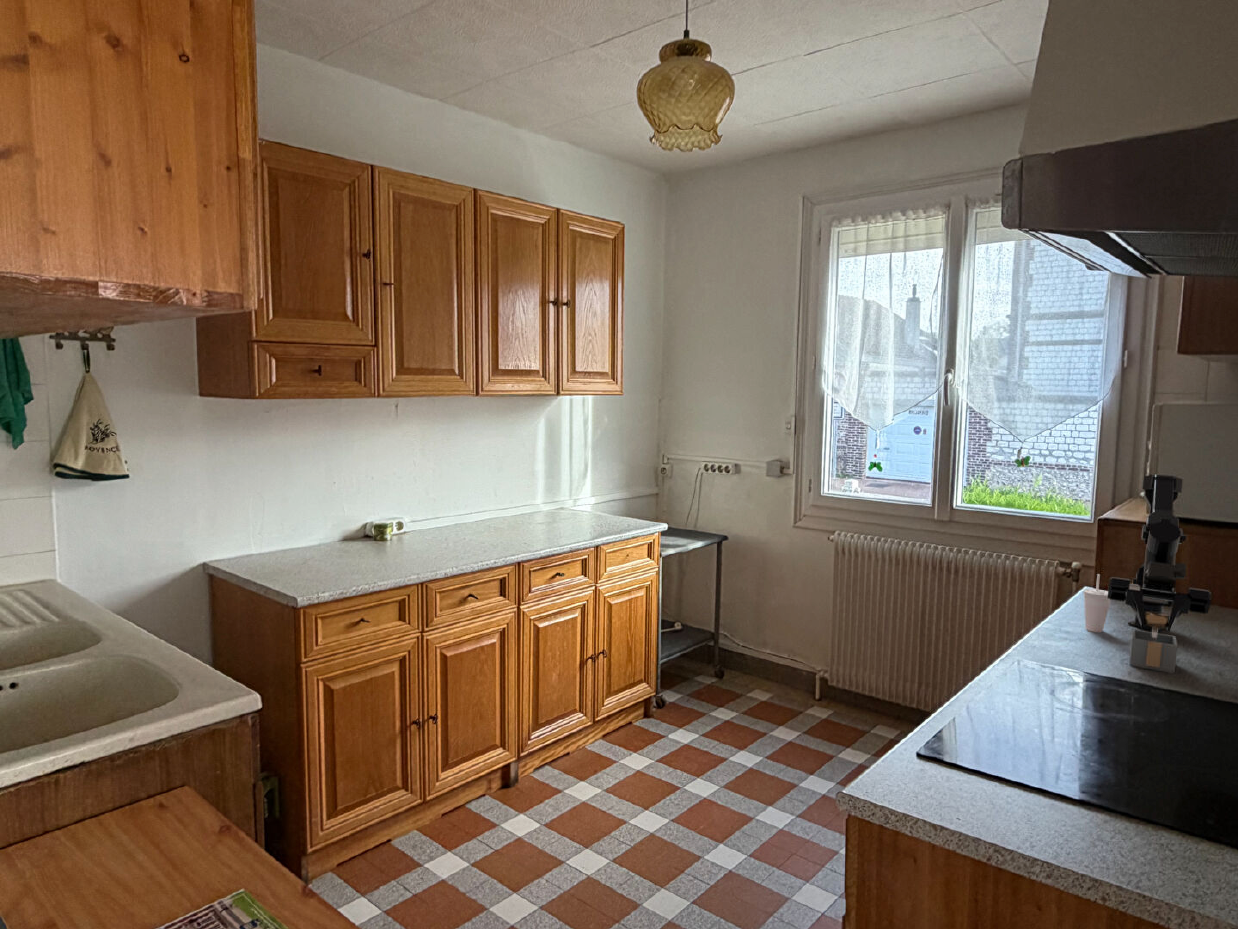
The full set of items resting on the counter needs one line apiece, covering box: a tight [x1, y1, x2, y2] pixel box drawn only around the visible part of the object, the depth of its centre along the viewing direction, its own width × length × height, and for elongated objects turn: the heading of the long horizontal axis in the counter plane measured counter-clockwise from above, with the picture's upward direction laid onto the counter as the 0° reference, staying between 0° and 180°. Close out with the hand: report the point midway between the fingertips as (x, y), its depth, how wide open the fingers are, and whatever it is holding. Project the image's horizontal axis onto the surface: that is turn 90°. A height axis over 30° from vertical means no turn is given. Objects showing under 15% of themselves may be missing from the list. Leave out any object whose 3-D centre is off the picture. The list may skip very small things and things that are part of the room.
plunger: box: [1144, 611, 1170, 642], centre depth 174 cm, size 6×6×9 cm
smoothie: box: [1082, 573, 1112, 633], centre depth 198 cm, size 6×6×14 cm
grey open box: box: [1128, 629, 1178, 674], centre depth 174 cm, size 9×8×6 cm
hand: (1155, 627), depth 173 cm, fingers closed on plunger, 4 cm apart
